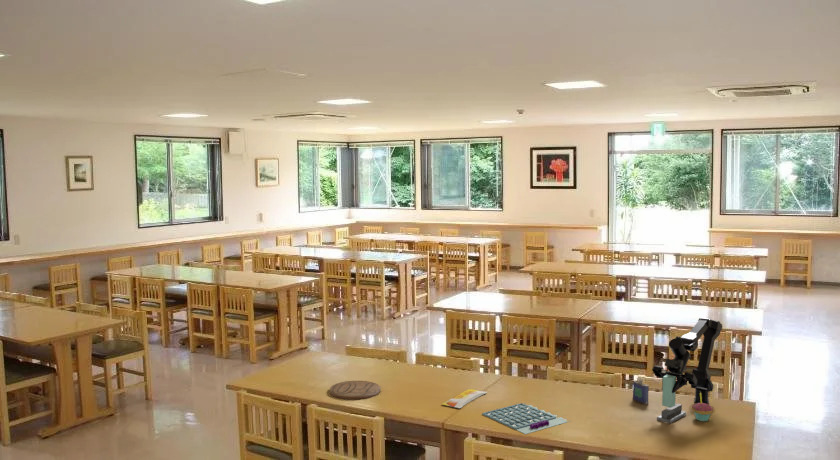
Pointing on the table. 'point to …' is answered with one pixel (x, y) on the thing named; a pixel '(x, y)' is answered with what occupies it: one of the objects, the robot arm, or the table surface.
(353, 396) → the trivet
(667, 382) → the peg
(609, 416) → the table surface
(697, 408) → the cupcake
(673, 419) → the grey stepped block
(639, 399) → the blue gift bag
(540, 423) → the calendar
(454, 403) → the food package
